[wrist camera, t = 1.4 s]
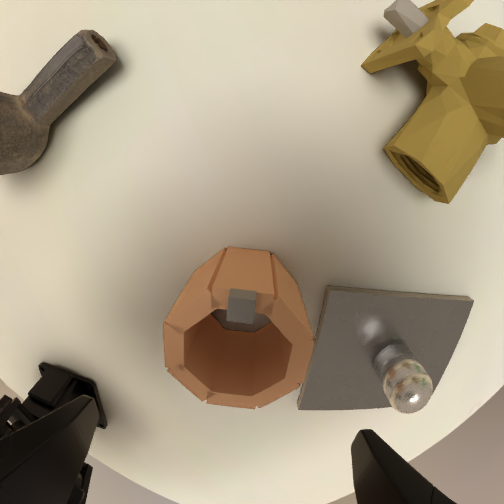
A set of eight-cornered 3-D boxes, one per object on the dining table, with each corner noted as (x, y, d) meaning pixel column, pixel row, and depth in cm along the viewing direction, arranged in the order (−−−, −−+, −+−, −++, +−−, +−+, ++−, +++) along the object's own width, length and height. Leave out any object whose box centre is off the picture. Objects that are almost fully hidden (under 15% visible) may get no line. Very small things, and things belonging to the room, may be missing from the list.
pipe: (136, 84, 14) (60, 40, 7) (17, 201, 16) (-61, 223, 9) (102, 27, 13) (36, -21, 5) (-6, 143, 15) (-78, 147, 7)
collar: (286, 347, 19) (296, 422, 12) (190, 335, 19) (163, 406, 12) (304, 254, 17) (329, 306, 10) (194, 242, 17) (156, 287, 10)
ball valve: (489, 83, 14) (406, -17, 11) (590, 92, 4) (496, -66, 1) (412, 194, 17) (303, 87, 15) (523, 258, 8) (388, 41, 5)
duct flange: (424, 396, 20) (449, 440, 15) (297, 402, 20) (304, 461, 15) (468, 296, 18) (513, 331, 12) (327, 285, 17) (354, 335, 12)
